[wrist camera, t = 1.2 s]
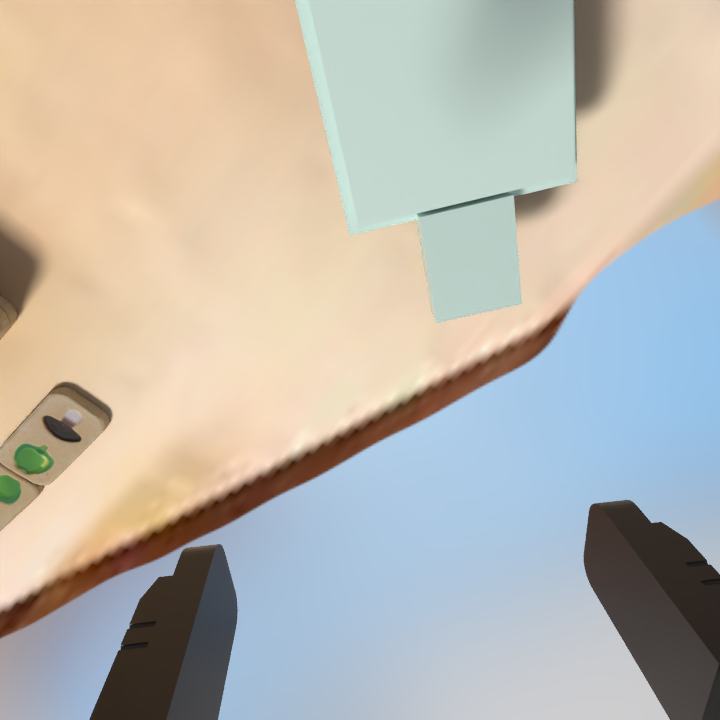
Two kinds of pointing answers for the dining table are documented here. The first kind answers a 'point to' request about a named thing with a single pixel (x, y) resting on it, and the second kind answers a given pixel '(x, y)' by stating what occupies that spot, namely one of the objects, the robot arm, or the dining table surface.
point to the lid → (447, 126)
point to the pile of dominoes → (43, 440)
